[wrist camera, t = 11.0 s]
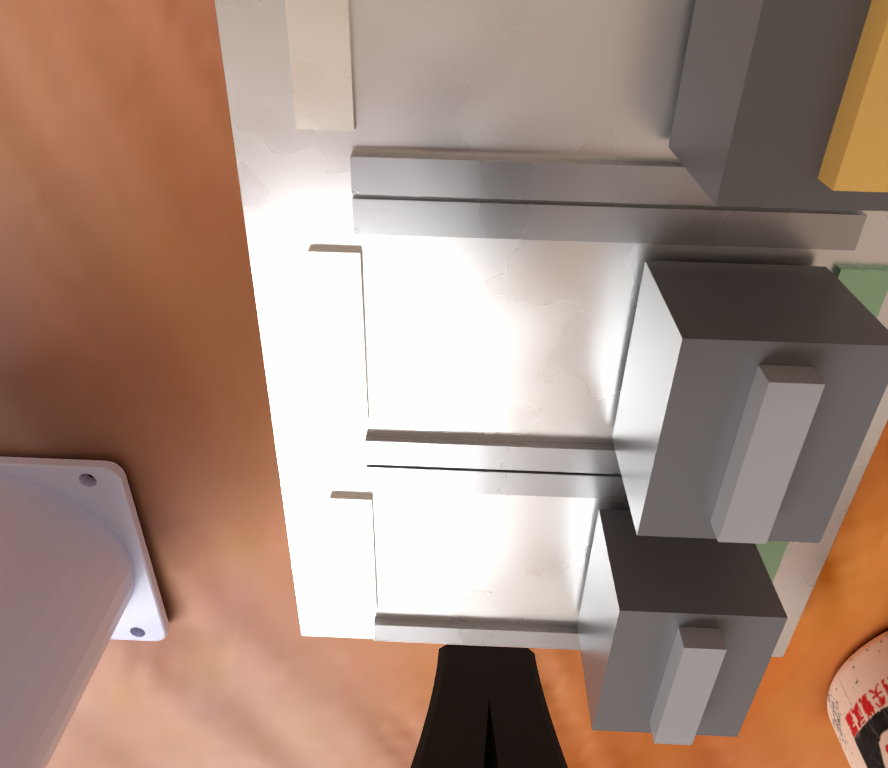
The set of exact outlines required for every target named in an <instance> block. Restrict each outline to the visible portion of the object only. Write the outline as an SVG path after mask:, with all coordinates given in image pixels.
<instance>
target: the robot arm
mask: <svg viewBox="0 0 888 768" xmlns="http://www.w3.org/2000/svg"><path fill="white" fill-rule="evenodd" d="M87 474H90V475H91V476H93V477H94V478H91V477H90V476H88V475H87ZM168 630H169V622H168V619H167V616H166V612H165V609H164V605H163V602H162V598H161V595H160V591H159V588H158V584H157V581H156V577H155V574H154V571H153V567H152V564H151V560H150V557H149V553H148V550H147V546H146V543H145V539H144V536H143V533H142V529H141V526H140V522H139V519H138V515H137V512H136V508H135V505H134V501H133V498H132V495H131V491H130V488H129V484H128V481H127V477H126V474H125V472H124V470H123V469H122V468H121V467H120V466H119V465H118V464H115V463H113V462H110V461H102V460H76V459H51V458H26V457H0V768H46V767H47V765H48V763H49V761H50V759H51V757H52V755H53V753H54V751H55V749H56V747H57V745H58V743H59V741H60V739H61V737H62V735H63V733H64V731H65V729H66V727H67V725H68V723H69V721H70V719H71V717H72V715H73V713H74V711H75V709H76V707H77V705H78V703H79V701H80V699H81V697H82V695H83V693H84V691H85V689H86V687H87V685H88V683H89V681H90V679H91V677H92V675H93V673H94V671H95V669H96V667H97V665H98V663H99V661H100V659H101V657H102V655H103V653H104V651H105V649H106V647H107V645H108V643H109V641H110V639H120V640H142V641H159V640H162V639H164V638H165V637H166V635H167V633H168ZM411 768H568V767H567V764H566V761H565V759H564V756H563V753H562V750H561V747H560V745H559V742H558V739H557V735H556V732H555V729H554V726H553V723H552V720H551V717H550V714H549V711H548V707H547V704H546V701H545V697H544V693H543V690H542V686H541V682H540V678H539V674H538V670H537V665H536V660H535V654H534V653H533V652H532V651H531V650H530V649H528V648H514V647H492V646H469V645H445V646H443V647H442V648H440V649H439V654H438V664H437V671H436V676H435V682H434V687H433V692H432V696H431V700H430V704H429V708H428V712H427V716H426V719H425V723H424V727H423V730H422V734H421V737H420V741H419V744H418V747H417V750H416V753H415V756H414V759H413V762H412V765H411Z"/></svg>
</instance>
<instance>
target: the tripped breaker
mask: <svg viewBox="0 0 888 768" xmlns="http://www.w3.org/2000/svg"><path fill="white" fill-rule="evenodd" d="M668 147H669V148H670V150H671V151H672V152H673V153H674V155H675V156H676V157H677V158H678V160H679V161H680V162H681V163H682V165H683V166H684V167H685V168H686V170H687V171H688V172H689V173H690V175H691V176H692V177H693V178H694V180H695V181H696V182H697V183H698V184H699V186H700V187H701V188H702V189H703V191H704V192H705V193H706V194H707V196H708V197H709V198H710V199H711V201H712V202H713V203H714V204H715V206H737V207H768V208H800V209H831V210H863V211H888V0H696V2H695V7H694V12H693V18H692V23H691V28H690V34H689V39H688V44H687V50H686V55H685V60H684V66H683V71H682V76H681V82H680V87H679V92H678V98H677V103H676V108H675V114H674V119H673V124H672V130H671V135H670V140H669V146H668Z"/></svg>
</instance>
